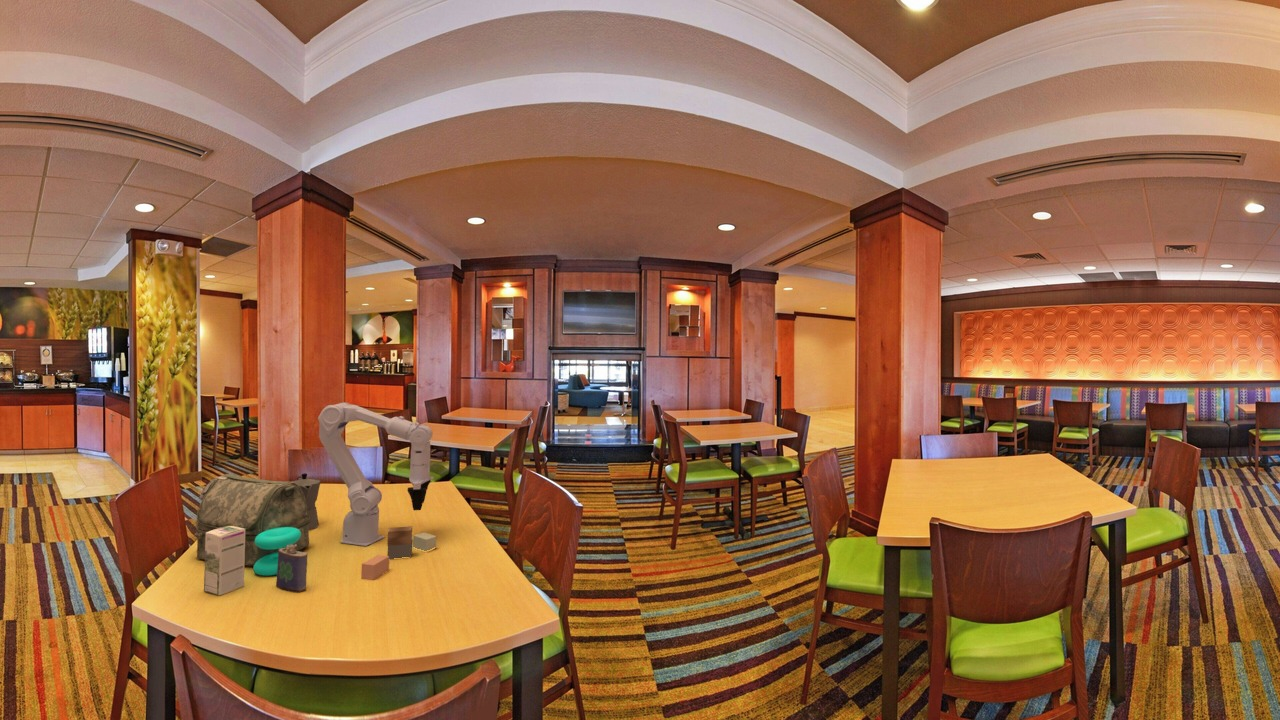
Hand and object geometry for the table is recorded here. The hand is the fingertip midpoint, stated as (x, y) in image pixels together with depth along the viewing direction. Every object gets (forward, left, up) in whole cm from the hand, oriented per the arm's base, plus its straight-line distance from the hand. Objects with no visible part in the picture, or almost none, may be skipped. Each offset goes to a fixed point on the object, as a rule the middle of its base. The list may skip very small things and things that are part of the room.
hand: (418, 506), depth 154 cm
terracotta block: (+6, -25, -11) cm, 28 cm away
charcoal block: (+4, -13, -11) cm, 17 cm away
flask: (-8, -37, -11) cm, 39 cm away
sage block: (+7, -6, -11) cm, 14 cm away
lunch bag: (-36, -24, -11) cm, 45 cm away
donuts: (-21, -30, -11) cm, 38 cm away
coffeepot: (-42, -2, -11) cm, 44 cm away
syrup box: (-22, -42, -11) cm, 49 cm away
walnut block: (+4, -13, -7) cm, 15 cm away
